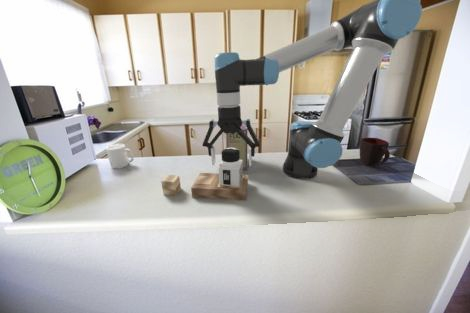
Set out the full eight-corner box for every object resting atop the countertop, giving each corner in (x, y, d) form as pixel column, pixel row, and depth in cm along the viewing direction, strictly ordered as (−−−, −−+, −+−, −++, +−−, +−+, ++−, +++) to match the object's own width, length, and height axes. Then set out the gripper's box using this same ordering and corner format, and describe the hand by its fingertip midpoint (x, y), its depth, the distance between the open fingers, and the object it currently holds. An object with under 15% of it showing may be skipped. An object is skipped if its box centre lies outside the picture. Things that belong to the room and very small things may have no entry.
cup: (117, 161, 106) (112, 143, 102) (139, 161, 106) (135, 143, 102) (107, 168, 99) (101, 149, 95) (131, 168, 98) (126, 149, 94)
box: (247, 170, 94) (247, 129, 86) (228, 172, 93) (226, 130, 85) (239, 157, 109) (239, 120, 101) (223, 158, 108) (221, 121, 100)
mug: (370, 159, 103) (376, 137, 99) (392, 171, 91) (401, 146, 86) (352, 160, 102) (357, 138, 98) (372, 173, 90) (379, 148, 85)
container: (239, 187, 73) (239, 154, 68) (219, 185, 74) (217, 153, 69) (242, 177, 80) (242, 146, 75) (223, 175, 81) (222, 145, 76)
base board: (247, 183, 84) (247, 174, 82) (245, 200, 73) (245, 190, 71) (201, 181, 86) (200, 172, 84) (192, 197, 75) (190, 187, 73)
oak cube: (180, 188, 81) (179, 175, 79) (176, 195, 76) (173, 181, 74) (169, 187, 82) (167, 174, 79) (163, 194, 77) (161, 181, 75)
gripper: (267, 102, 68) (265, 160, 76) (195, 104, 71) (202, 159, 79) (267, 106, 61) (266, 169, 69) (188, 108, 64) (196, 167, 73)
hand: (232, 164), depth 74 cm, fingers open, 13 cm apart
